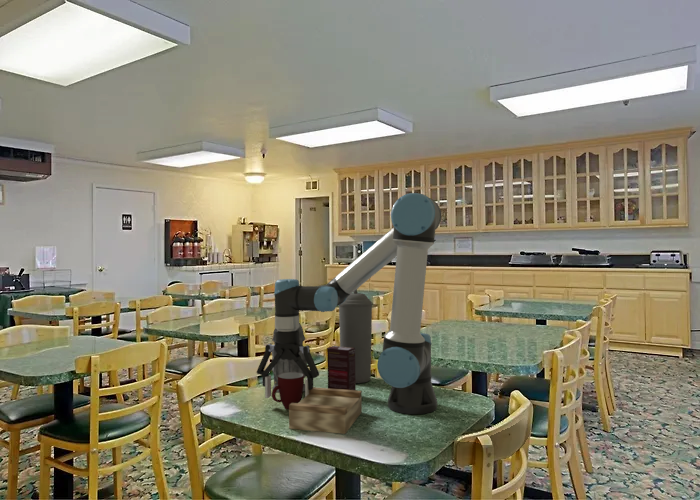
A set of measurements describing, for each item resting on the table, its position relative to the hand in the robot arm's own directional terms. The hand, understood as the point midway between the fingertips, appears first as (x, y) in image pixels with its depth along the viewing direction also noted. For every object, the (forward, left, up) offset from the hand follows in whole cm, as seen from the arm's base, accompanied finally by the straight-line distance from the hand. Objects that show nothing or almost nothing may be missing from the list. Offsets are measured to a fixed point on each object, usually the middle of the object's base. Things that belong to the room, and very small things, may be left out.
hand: (287, 398), depth 155 cm
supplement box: (-12, -18, -3) cm, 22 cm away
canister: (-12, -37, -3) cm, 39 cm away
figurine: (+7, -19, -3) cm, 21 cm away
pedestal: (-15, +7, -3) cm, 17 cm away
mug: (0, 0, -3) cm, 3 cm away
